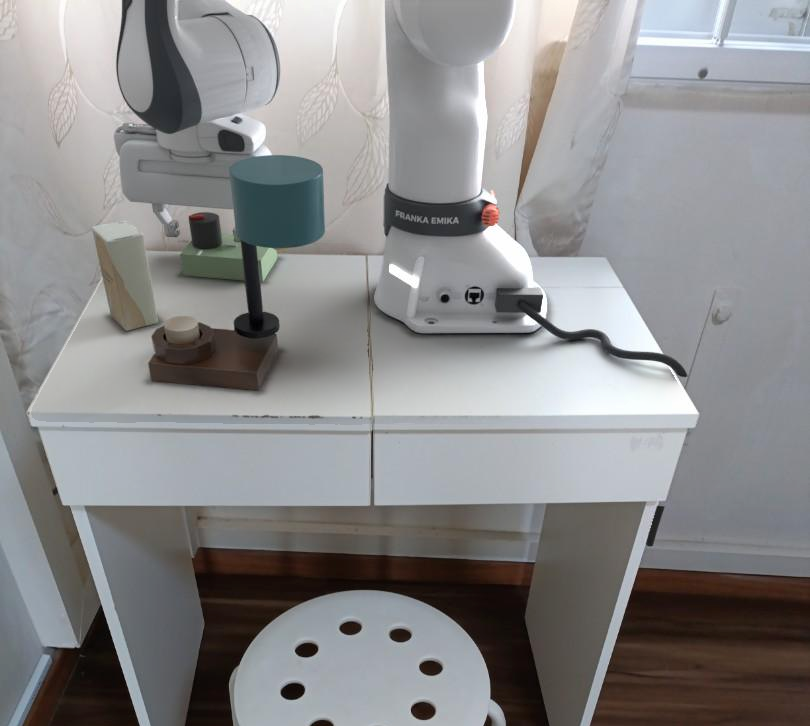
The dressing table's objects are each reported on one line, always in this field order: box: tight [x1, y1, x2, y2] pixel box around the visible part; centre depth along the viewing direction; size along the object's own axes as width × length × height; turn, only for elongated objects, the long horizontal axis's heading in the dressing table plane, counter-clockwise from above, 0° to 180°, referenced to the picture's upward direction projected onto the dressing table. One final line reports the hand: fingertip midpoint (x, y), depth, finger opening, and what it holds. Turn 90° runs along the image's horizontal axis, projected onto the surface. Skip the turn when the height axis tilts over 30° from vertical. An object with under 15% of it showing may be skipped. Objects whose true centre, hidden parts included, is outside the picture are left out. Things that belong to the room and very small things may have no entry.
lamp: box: [229, 154, 326, 338], centre depth 83 cm, size 10×9×17 cm
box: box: [91, 219, 159, 332], centre depth 94 cm, size 5×4×11 cm
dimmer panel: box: [177, 233, 278, 283], centre depth 109 cm, size 13×8×3 cm, turn 83°
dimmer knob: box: [188, 211, 222, 249], centre depth 107 cm, size 4×4×4 cm
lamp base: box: [147, 321, 279, 391], centre depth 89 cm, size 12×9×4 cm
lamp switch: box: [163, 315, 200, 344], centre depth 87 cm, size 4×4×2 cm
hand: (206, 238), depth 108 cm, fingers open, 8 cm apart
